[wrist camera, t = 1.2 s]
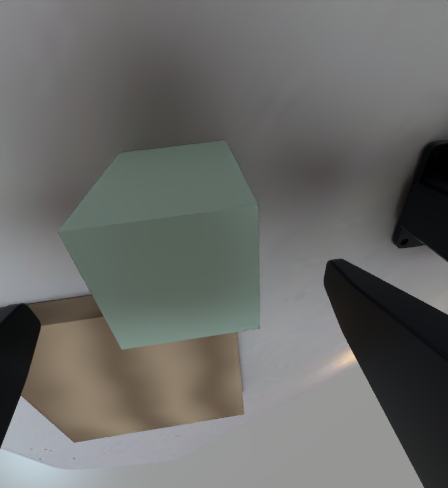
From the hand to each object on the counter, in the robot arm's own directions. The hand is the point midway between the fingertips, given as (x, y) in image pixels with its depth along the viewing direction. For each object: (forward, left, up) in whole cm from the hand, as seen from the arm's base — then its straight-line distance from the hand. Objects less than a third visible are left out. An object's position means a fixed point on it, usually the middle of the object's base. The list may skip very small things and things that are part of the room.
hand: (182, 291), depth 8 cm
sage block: (0, 0, -7) cm, 7 cm away
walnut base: (+6, +14, -7) cm, 17 cm away
